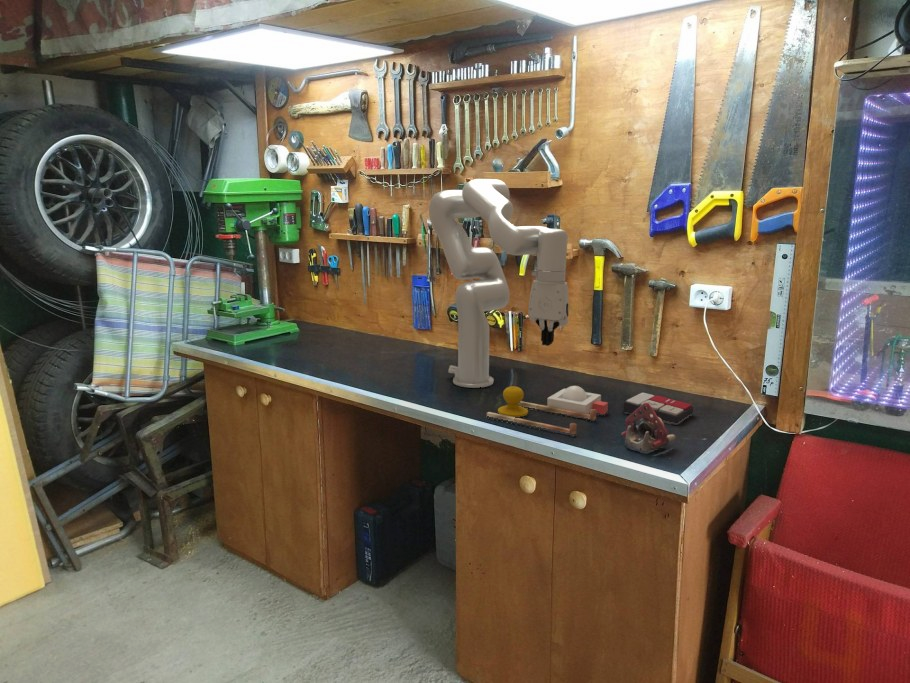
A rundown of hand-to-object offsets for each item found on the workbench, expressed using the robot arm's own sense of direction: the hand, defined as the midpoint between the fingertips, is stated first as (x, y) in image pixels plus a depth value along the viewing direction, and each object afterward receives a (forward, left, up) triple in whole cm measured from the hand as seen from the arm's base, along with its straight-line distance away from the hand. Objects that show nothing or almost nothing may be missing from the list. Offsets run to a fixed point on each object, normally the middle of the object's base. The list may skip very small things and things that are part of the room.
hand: (547, 344), depth 180 cm
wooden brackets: (+3, -9, -18) cm, 20 cm away
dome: (+7, +4, -18) cm, 20 cm away
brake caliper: (+32, -13, -18) cm, 39 cm away
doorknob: (-5, -9, -18) cm, 21 cm away
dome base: (+9, +4, -18) cm, 20 cm away
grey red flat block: (+27, +12, -19) cm, 35 cm away
